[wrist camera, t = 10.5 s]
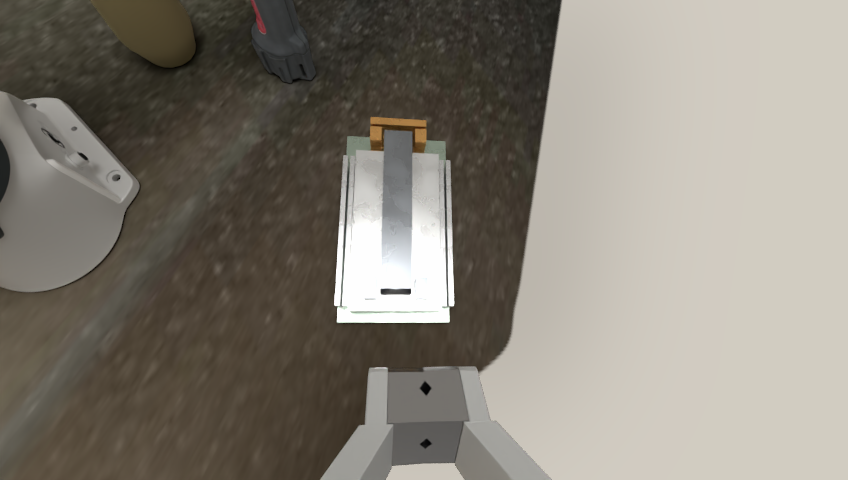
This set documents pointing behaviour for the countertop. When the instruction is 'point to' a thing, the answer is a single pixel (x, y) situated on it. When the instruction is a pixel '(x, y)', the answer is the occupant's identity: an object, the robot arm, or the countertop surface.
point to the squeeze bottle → (151, 29)
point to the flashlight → (281, 40)
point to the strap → (397, 214)
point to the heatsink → (364, 231)
